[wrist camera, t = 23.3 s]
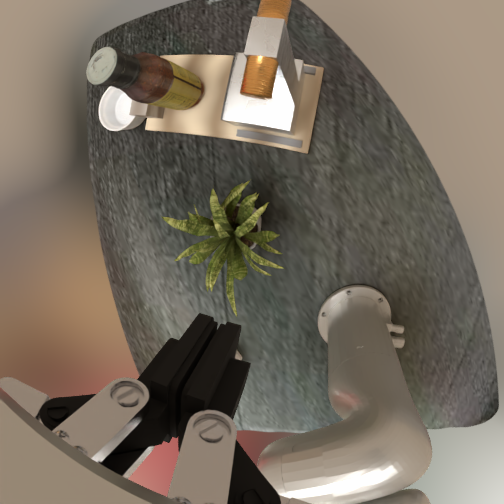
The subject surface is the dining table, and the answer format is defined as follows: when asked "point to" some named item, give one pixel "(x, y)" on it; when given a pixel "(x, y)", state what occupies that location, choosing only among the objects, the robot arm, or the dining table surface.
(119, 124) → the ramekin
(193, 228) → the house plant
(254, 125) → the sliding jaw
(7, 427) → the robot arm
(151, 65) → the sauce bottle
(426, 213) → the dining table surface
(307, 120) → the clamp base
